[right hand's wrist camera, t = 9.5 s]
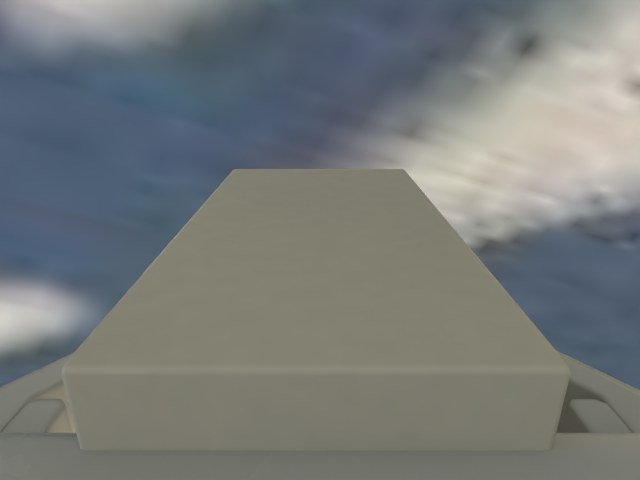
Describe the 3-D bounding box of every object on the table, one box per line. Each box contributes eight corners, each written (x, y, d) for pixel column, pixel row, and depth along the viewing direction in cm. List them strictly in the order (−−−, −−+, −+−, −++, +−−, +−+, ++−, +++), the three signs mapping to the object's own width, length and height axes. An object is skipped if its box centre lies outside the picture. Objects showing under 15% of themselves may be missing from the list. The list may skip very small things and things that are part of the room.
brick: (243, 326, 15) (136, 684, 6) (232, 168, 13) (54, 369, 4) (394, 326, 15) (497, 685, 6) (404, 168, 13) (576, 369, 4)
